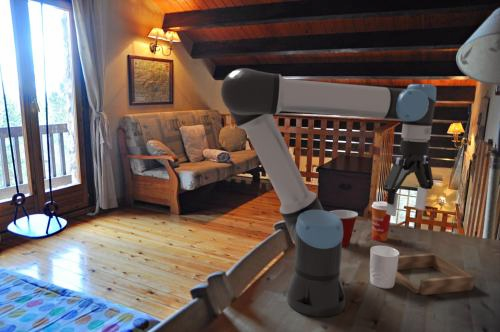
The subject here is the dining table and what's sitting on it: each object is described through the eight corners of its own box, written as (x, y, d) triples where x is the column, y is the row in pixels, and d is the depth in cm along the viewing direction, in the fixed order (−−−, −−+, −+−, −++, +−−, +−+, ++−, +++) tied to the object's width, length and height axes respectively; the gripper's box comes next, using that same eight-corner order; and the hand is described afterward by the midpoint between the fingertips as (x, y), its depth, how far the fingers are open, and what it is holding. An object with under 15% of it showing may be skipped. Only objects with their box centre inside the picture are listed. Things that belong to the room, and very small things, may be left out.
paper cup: (364, 236, 147) (367, 201, 144) (381, 234, 149) (384, 200, 147) (377, 243, 140) (380, 207, 137) (394, 241, 142) (397, 205, 139)
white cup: (398, 291, 106) (401, 257, 104) (369, 288, 107) (372, 255, 105) (393, 278, 113) (396, 246, 111) (366, 275, 115) (369, 244, 113)
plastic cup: (339, 236, 147) (341, 206, 144) (362, 245, 138) (364, 213, 136) (319, 241, 140) (321, 211, 138) (342, 251, 132) (344, 219, 130)
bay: (417, 295, 103) (418, 282, 103) (384, 268, 119) (385, 256, 118) (472, 289, 107) (474, 276, 106) (433, 264, 123) (434, 253, 122)
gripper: (398, 142, 97) (388, 221, 100) (452, 140, 110) (442, 210, 114) (375, 139, 103) (366, 213, 107) (429, 137, 116) (419, 203, 120)
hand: (405, 212), depth 110 cm, fingers open, 13 cm apart
